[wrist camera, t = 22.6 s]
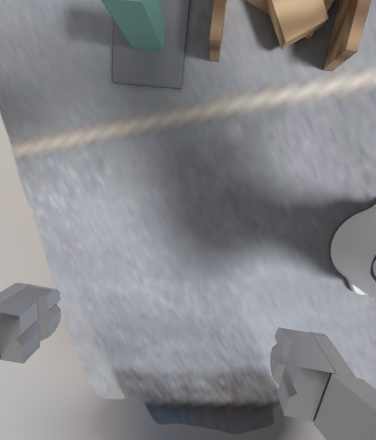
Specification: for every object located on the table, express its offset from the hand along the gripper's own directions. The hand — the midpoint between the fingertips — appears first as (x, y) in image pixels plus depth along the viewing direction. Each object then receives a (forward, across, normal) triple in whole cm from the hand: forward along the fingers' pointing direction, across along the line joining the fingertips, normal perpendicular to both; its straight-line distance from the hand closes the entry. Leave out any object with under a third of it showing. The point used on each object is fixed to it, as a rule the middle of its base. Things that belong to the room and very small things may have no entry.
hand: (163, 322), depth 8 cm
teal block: (+34, +12, -25) cm, 44 cm away
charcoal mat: (+34, +12, -25) cm, 44 cm away
